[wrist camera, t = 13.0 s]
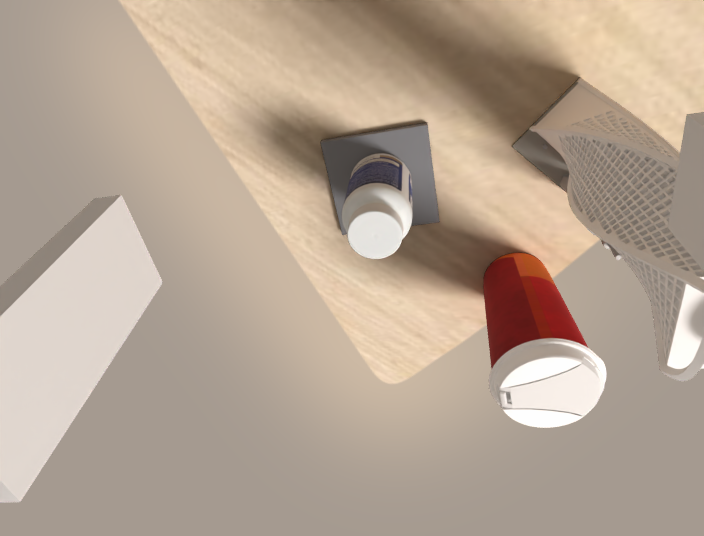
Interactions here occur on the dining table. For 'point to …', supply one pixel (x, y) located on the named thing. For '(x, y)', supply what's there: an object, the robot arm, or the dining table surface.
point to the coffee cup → (536, 347)
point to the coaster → (397, 142)
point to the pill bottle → (378, 206)
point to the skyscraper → (626, 208)
